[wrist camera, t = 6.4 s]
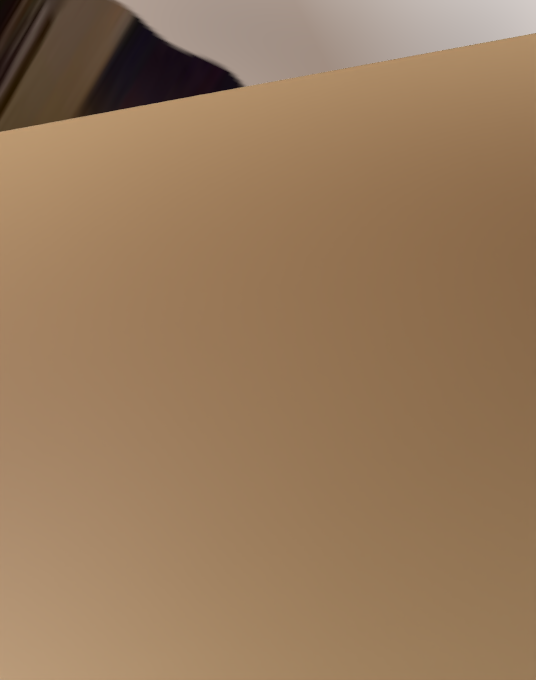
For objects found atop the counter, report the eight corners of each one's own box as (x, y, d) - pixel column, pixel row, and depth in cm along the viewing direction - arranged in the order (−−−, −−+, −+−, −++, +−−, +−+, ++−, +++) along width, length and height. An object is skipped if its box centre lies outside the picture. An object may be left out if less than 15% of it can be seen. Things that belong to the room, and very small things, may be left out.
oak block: (366, 503, 14) (1078, 957, 2) (197, 552, 13) (-62, 1490, 2) (321, 337, 15) (678, 6, 3) (158, 377, 14) (-222, 172, 2)
